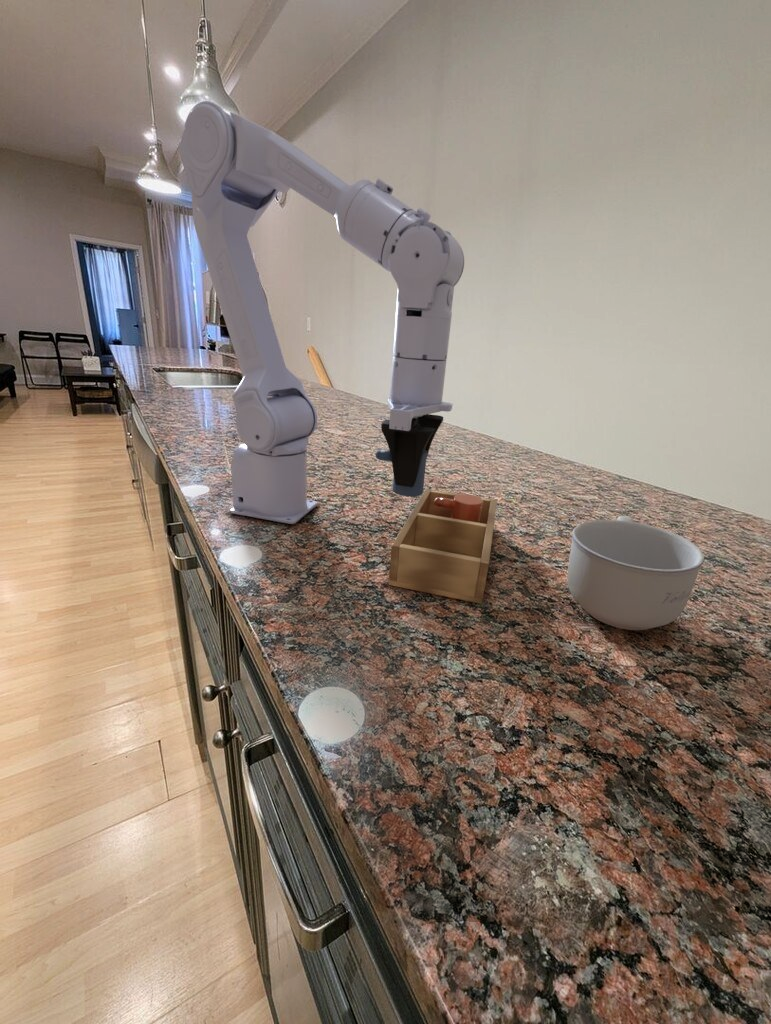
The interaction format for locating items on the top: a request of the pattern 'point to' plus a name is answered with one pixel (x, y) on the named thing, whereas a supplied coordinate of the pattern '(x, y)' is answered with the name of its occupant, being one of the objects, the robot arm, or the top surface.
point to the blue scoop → (419, 483)
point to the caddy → (443, 550)
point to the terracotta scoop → (462, 507)
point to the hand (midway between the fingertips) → (408, 480)
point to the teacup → (631, 572)
